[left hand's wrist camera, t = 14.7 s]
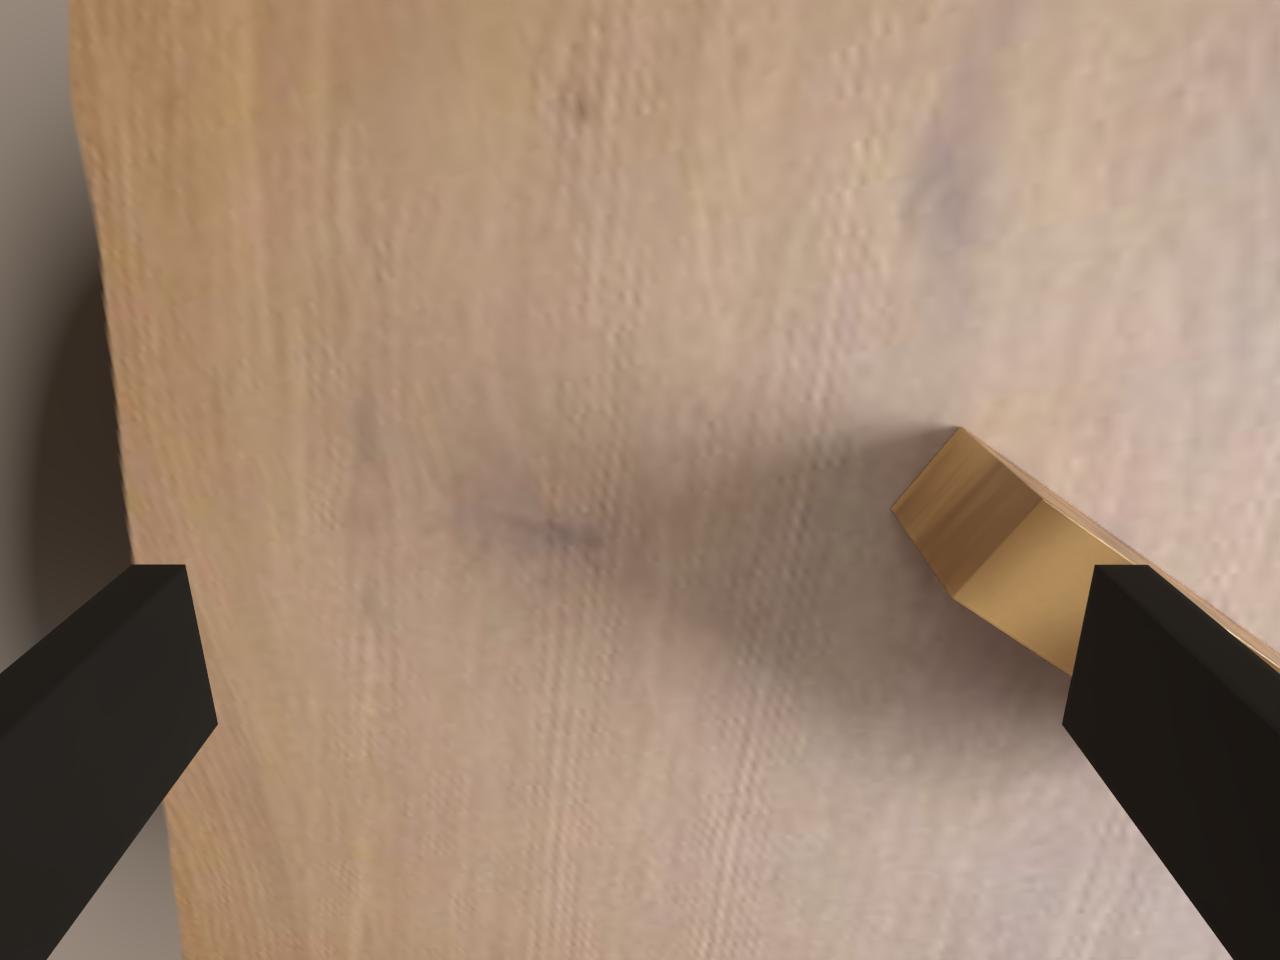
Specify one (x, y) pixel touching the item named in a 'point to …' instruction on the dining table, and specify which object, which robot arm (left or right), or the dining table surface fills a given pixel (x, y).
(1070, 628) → the bar
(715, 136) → the dining table surface
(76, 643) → the left robot arm
